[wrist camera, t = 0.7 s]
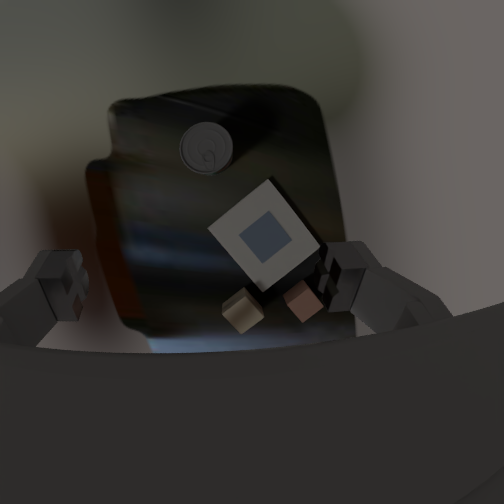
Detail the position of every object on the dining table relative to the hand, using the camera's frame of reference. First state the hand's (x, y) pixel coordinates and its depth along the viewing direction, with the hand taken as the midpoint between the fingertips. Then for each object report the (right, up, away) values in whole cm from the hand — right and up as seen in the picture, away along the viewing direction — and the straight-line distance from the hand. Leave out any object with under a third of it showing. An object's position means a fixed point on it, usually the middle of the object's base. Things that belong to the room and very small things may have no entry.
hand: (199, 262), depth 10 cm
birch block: (0, -10, +49) cm, 50 cm away
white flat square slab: (+4, +3, +46) cm, 47 cm away
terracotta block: (+11, -9, +50) cm, 52 cm away
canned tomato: (-6, +18, +43) cm, 47 cm away
